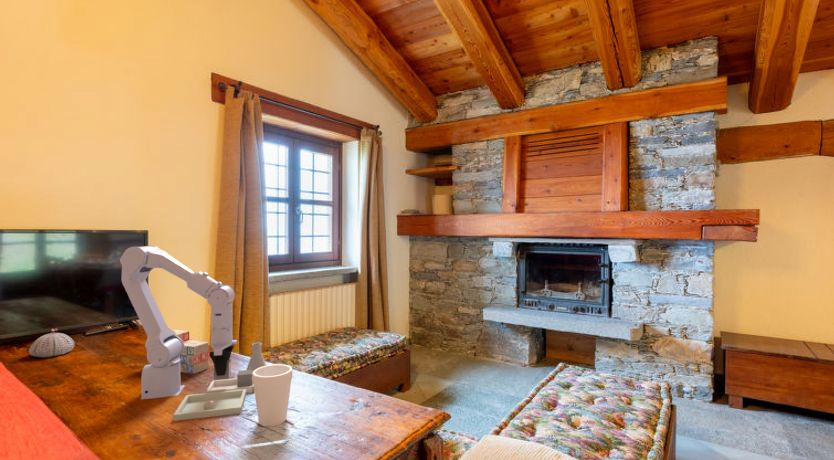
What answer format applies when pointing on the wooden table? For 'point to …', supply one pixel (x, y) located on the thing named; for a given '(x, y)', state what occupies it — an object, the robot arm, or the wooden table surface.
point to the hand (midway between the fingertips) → (222, 372)
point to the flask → (256, 357)
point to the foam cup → (272, 393)
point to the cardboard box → (192, 354)
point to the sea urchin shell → (51, 345)
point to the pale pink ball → (210, 405)
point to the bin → (224, 406)
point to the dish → (227, 386)
